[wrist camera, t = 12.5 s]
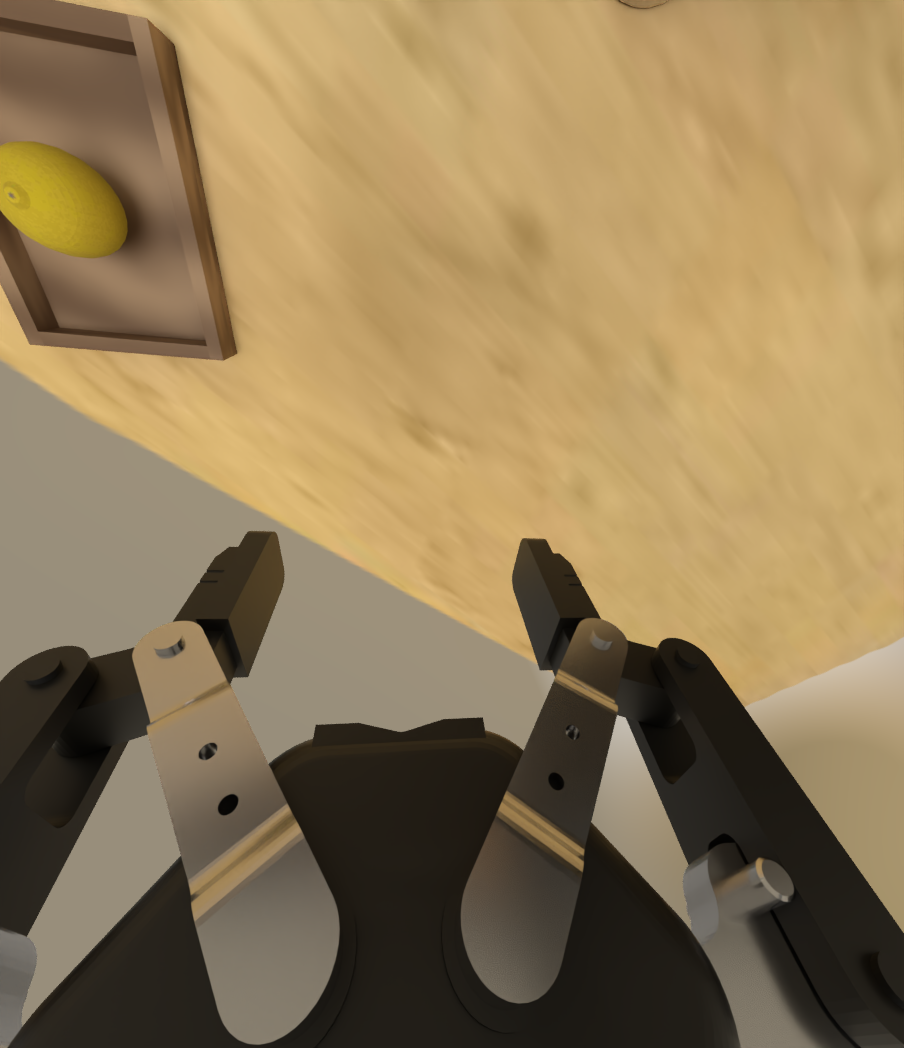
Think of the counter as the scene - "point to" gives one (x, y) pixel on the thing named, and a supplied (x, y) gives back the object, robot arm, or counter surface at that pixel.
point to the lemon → (60, 200)
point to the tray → (128, 167)
